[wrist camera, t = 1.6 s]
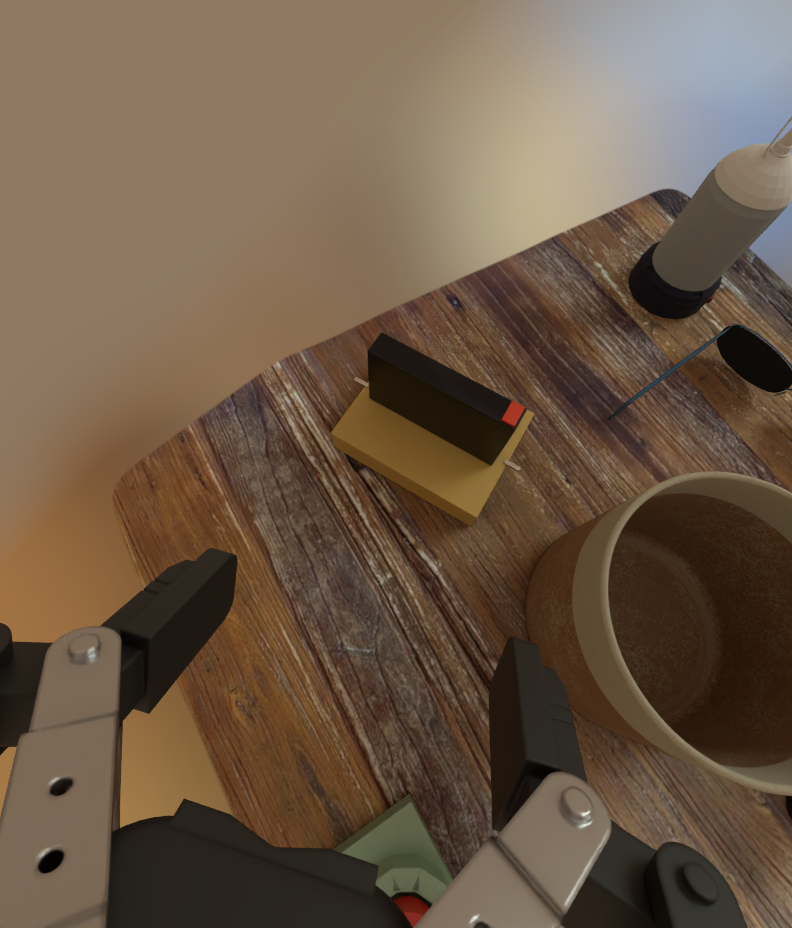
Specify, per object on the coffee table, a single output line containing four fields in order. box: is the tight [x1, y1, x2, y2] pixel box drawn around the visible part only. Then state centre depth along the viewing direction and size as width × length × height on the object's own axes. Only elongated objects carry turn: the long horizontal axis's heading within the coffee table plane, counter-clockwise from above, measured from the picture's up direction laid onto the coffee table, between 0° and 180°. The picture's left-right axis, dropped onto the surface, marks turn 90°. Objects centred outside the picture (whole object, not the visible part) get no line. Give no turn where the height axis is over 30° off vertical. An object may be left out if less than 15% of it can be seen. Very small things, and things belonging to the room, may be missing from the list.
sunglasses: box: [609, 324, 792, 420], centre depth 41 cm, size 17×15×5 cm
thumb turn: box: [368, 333, 527, 466], centre depth 35 cm, size 12×2×7 cm, turn 59°
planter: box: [526, 471, 792, 796], centre depth 30 cm, size 16×16×14 cm
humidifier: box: [629, 117, 792, 319], centre depth 37 cm, size 8×8×25 cm
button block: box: [333, 794, 454, 908], centre depth 28 cm, size 10×7×4 cm
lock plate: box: [331, 377, 534, 526], centre depth 40 cm, size 16×11×3 cm
